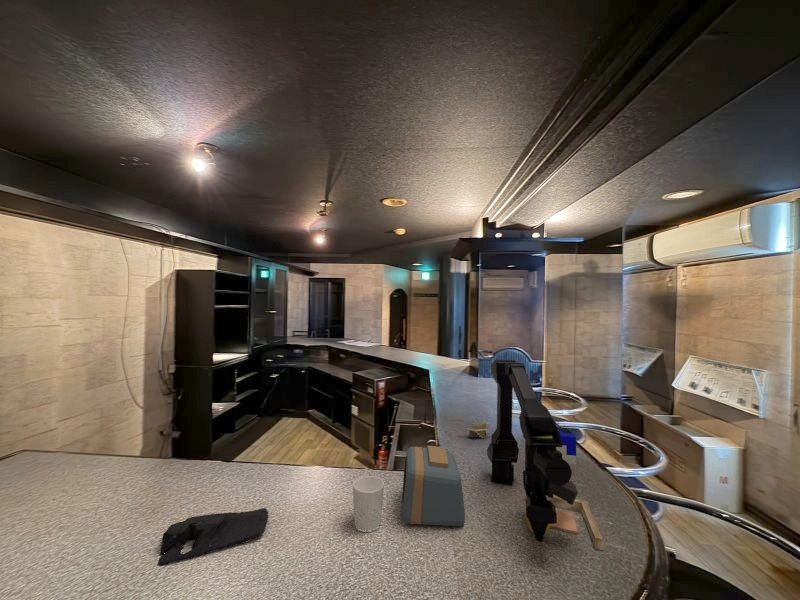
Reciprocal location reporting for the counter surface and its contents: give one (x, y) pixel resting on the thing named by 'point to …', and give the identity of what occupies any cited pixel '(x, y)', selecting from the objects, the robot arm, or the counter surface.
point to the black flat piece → (211, 533)
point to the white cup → (368, 502)
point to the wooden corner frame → (568, 523)
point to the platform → (478, 430)
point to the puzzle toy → (567, 445)
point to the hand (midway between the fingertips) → (538, 528)
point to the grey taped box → (432, 488)
